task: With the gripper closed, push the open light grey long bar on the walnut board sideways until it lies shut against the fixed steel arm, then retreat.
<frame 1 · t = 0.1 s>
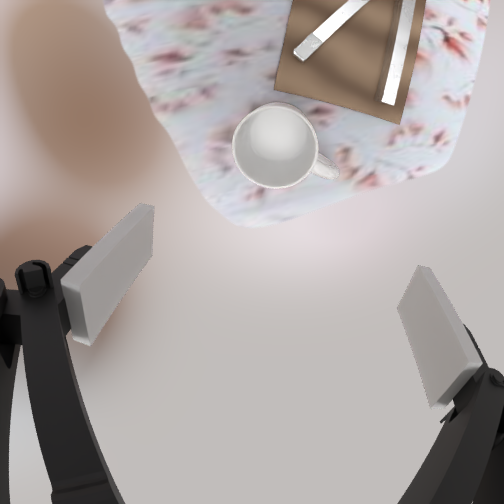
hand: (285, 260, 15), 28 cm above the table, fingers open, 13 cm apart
light grey long bar: (343, 14, 27), point 3 cm above the table, hinge at -30.0°
board: (355, 26, 30), on the table
mug: (291, 140, 39), on the table
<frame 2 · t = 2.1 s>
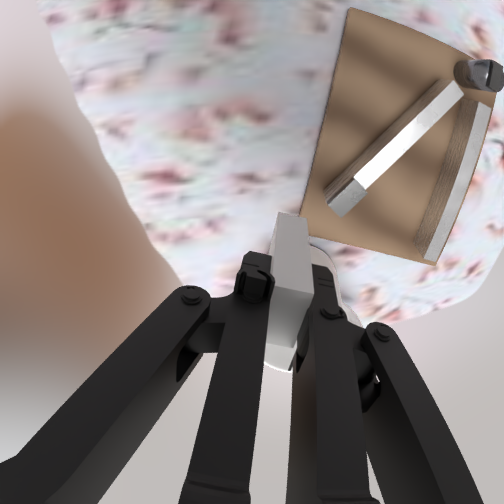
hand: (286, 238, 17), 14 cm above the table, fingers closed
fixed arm: (466, 77, 22), resting on board
light grey long bar: (395, 143, 24), point 3 cm above the table, hinge at -30.0°
board: (404, 144, 27), on the table
mug: (312, 280, 35), on the table
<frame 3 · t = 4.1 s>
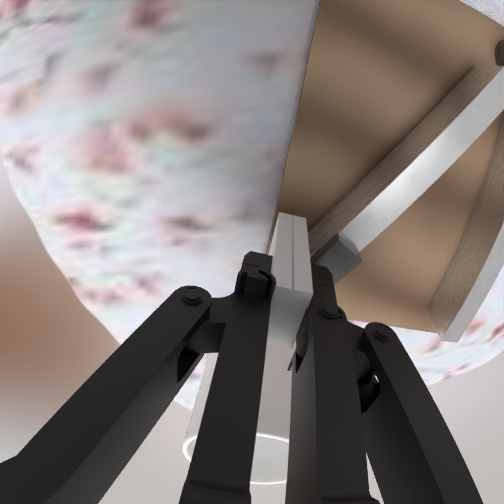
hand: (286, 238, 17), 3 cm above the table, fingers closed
light grey long bar: (410, 171, 14), point 3 cm above the table, hinge at -29.7°, touching gripper
board: (421, 167, 17), on the table
mug: (285, 354, 26), on the table
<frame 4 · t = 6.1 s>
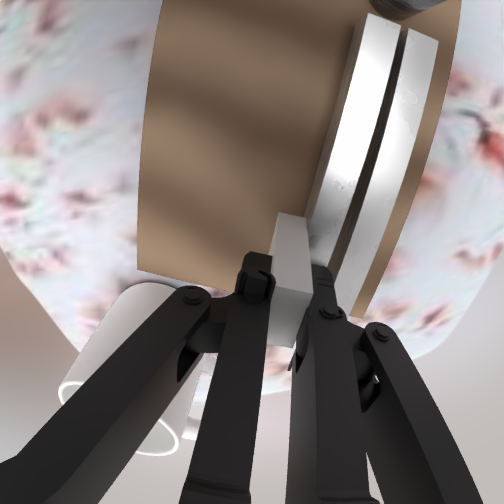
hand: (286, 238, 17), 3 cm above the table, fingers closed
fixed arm: (401, 8, 13), resting on board
light grey long bar: (337, 173, 15), point 3 cm above the table, hinge at -1.5°, touching gripper
board: (287, 126, 17), on the table
mug: (184, 328, 26), on the table
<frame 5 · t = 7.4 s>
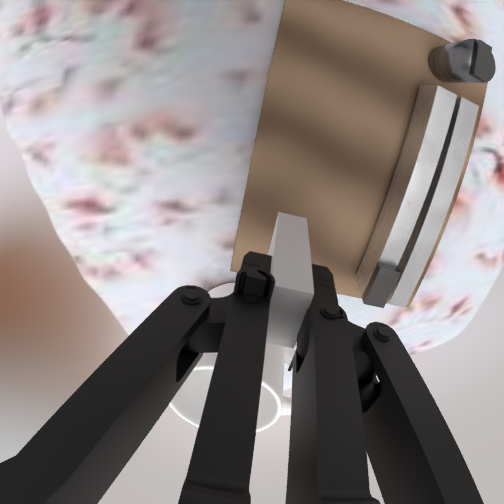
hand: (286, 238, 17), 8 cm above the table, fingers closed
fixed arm: (447, 70, 18), resting on board
light grey long bar: (407, 196, 20), point 3 cm above the table, hinge at -1.4°
board: (364, 158, 22), on the table
mug: (258, 323, 30), on the table
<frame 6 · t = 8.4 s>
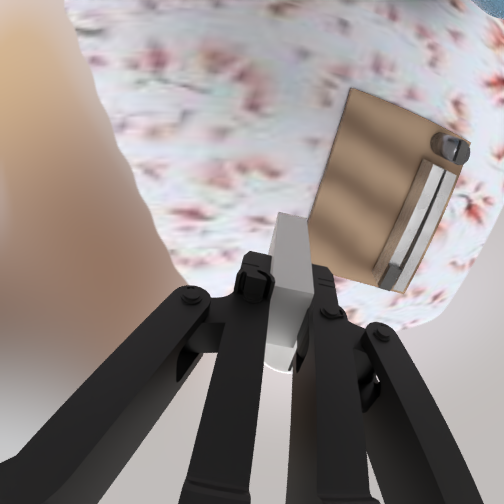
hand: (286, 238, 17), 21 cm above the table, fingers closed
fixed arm: (441, 145, 32), resting on board
light grey long bar: (408, 226, 34), point 3 cm above the table, hinge at -1.4°
board: (384, 199, 36), on the table
mug: (304, 302, 44), on the table
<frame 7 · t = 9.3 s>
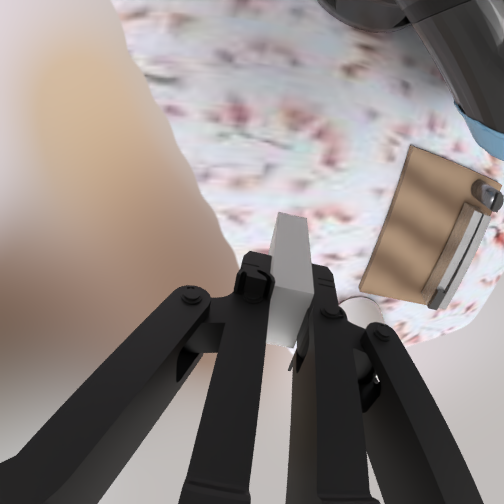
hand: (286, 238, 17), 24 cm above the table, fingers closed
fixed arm: (478, 188, 37), resting on board
light grey long bar: (452, 258, 39), point 3 cm above the table, hinge at -1.4°
board: (432, 235, 41), on the table
mug: (364, 319, 50), on the table
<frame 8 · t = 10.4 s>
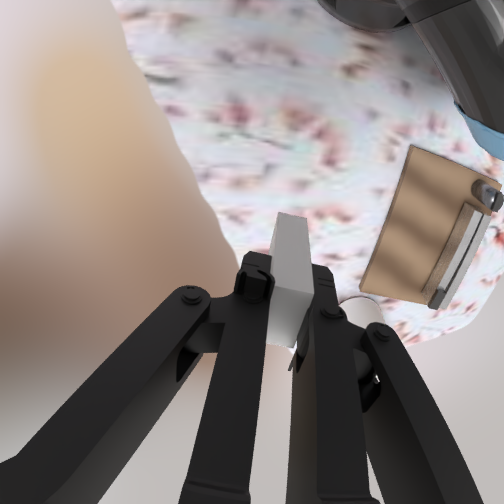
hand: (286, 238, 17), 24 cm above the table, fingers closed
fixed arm: (479, 188, 37), resting on board
light grey long bar: (452, 258, 39), point 3 cm above the table, hinge at -1.4°
board: (432, 235, 41), on the table
mug: (364, 319, 50), on the table
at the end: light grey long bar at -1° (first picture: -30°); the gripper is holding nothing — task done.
